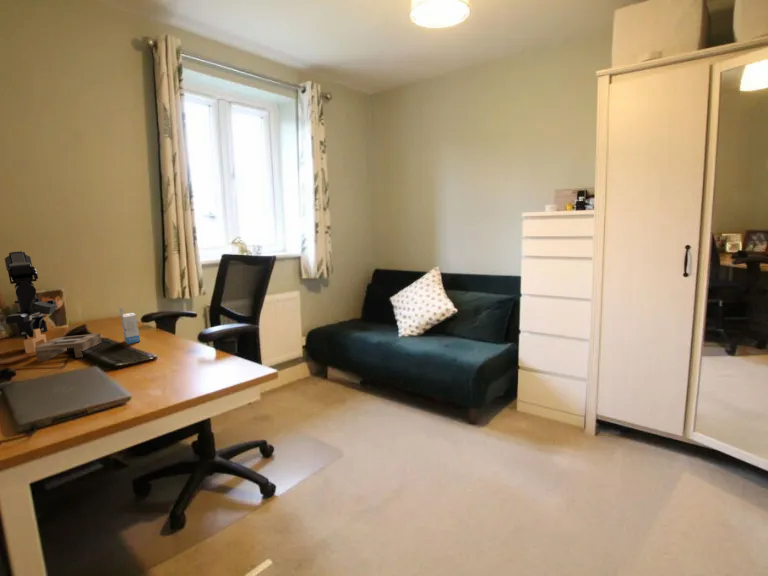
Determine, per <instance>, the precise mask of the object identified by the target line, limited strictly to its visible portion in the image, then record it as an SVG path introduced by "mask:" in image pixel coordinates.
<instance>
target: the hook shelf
mask: <svg viewBox="0 0 768 576" xmlns="http://www.w3.org/2000/svg"><path fill="white" fill-rule="evenodd" d="M101 342H102V337H101V333H91V334H90V333H89V334H80V335H70V336H60V337H55V338H53V339H51V340H47V342H46V343H44V344H41V345H39V346H37V347H35V351H36V352H35V354H36V359H37V362H44V361H45V362H46V361H49V360H51V359H52V358H55V357H57V356H58V355H60V354H63V353H65V352H67V351H68V350H67V348H68V349H72V348H73V351H74V355H75V358H76V359H77V358H84V357H83V354H82V352H81V351H84V350H86V349H88V348H90V347H93V346H95V345H97V344H99V343H101ZM102 343H103V342H102Z"/></svg>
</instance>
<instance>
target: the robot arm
mask: <svg viewBox="0 0 768 576" xmlns="http://www.w3.org/2000/svg"><path fill="white" fill-rule="evenodd" d="M4 264H5V268H6V271H7V273H8V278H9V283H10V285H13V284H14V286H13V287H14V291H15V296H16V300H14V304H17V306H18V311H16V313H12V314H10V315H7V316H6V317H5V318H4V323H5V324H6V325H8V324H16V325H17V328H18V331H19V336H20V337H23V338H24V340H26V339H28V337H27V335H28V336H29V337H33V329H40V332H41V335H43V333H47V332H48V331H49V330H48V327H47V326H48V324H47V320H45V318H46V317H47V316H48V315H51V314H54V313H55V309H58V306H57V302H56V300H53V299H50V300H48V301H41V298H40V297H37V290H36V287H35V284H34V283H33V282H37V280H38V279H39V275H38V271H37V268H36V267H35V266H34V265H33V264H32V258H31V256H30V255H28V254H26V252H25V251H22V250H21V251H11V252H8V256H6V257H5V258H4ZM43 314H44V315H43ZM36 347H37V346H36ZM22 351H26V350H25V347H24V348H22Z"/></svg>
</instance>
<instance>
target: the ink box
mask: <svg viewBox="0 0 768 576" xmlns="http://www.w3.org/2000/svg"><path fill="white" fill-rule="evenodd" d="M119 313H120V321H121V327H122V334H123V337H124V342H125V343H126V344H127V345H131V344H136V343H140V342H141V337H140V332H139V331H140V330H139V326H138V319H137V314H135V313H134V312H128V313H124V310H123V308H121V307H119Z"/></svg>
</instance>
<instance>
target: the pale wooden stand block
mask: <svg viewBox="0 0 768 576" xmlns="http://www.w3.org/2000/svg"><path fill="white" fill-rule="evenodd" d="M42 334H43V333H42ZM27 337H28V339H26V340H25V339H24V340H23V341H22V342H23V345H24V348H25V350H24V351H25V354H30V353H36V351H35V347H36V346H39V345H41V344H44V343H46V342H48V340H47V335H46V333H44V334H43V335H41V332H40V329H33V337H29V336H28V335H27Z"/></svg>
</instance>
